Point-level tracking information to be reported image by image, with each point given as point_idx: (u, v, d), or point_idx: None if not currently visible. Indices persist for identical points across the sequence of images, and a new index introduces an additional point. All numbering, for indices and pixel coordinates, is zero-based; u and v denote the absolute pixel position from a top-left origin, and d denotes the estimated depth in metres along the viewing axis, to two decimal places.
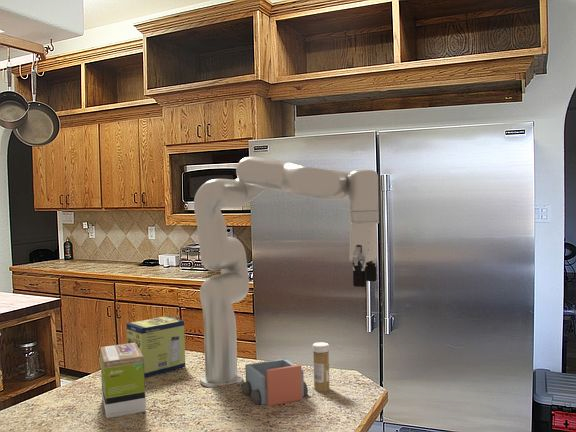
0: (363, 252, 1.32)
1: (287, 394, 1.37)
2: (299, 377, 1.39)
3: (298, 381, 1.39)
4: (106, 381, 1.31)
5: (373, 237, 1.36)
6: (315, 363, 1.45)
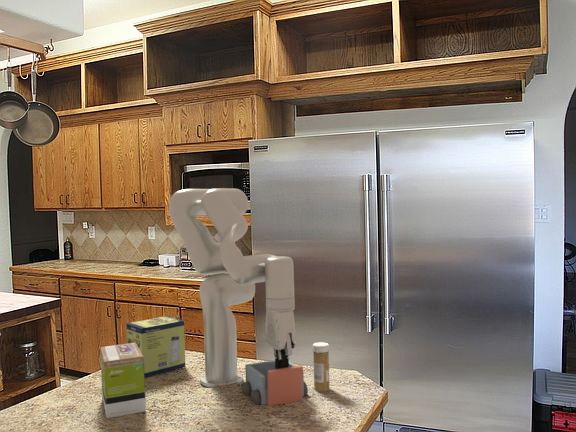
0: (293, 339, 1.35)
1: (287, 394, 1.37)
2: (300, 377, 1.38)
3: (299, 382, 1.38)
4: (106, 381, 1.31)
5: None
6: (315, 363, 1.45)
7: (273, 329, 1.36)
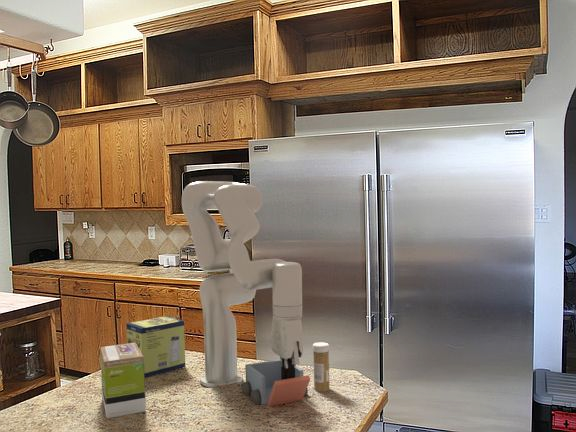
0: (300, 348, 1.31)
1: (289, 398, 1.36)
2: (305, 386, 1.36)
3: (303, 389, 1.36)
4: (106, 381, 1.31)
5: None
6: (315, 363, 1.45)
7: (279, 337, 1.32)
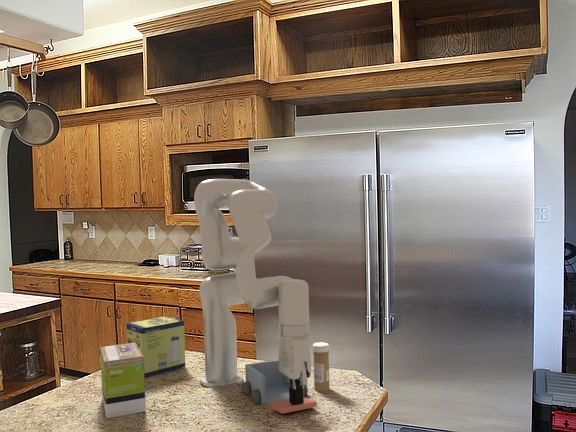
0: (308, 368, 1.27)
1: None
2: None
3: None
4: (106, 381, 1.31)
5: None
6: (315, 363, 1.45)
7: (287, 357, 1.29)
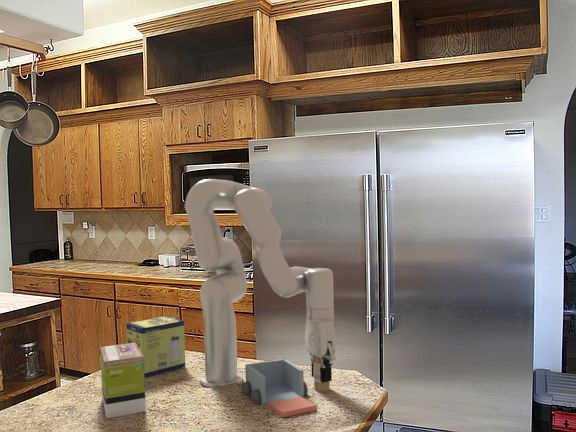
0: (333, 347, 1.42)
1: None
2: None
3: None
4: (106, 381, 1.31)
5: None
6: (315, 363, 1.45)
7: (314, 337, 1.44)
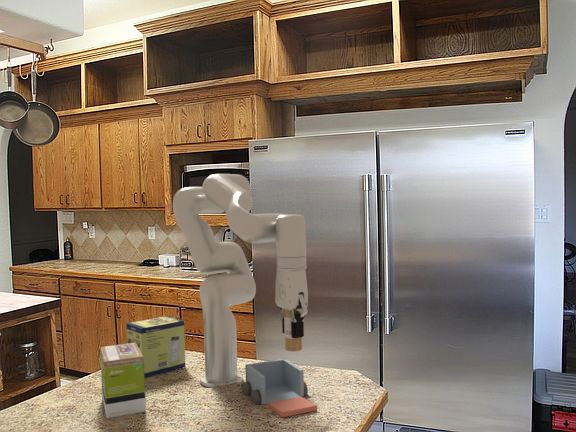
0: (305, 299, 1.30)
1: None
2: None
3: None
4: (106, 381, 1.31)
5: None
6: (286, 317, 1.33)
7: (284, 289, 1.31)
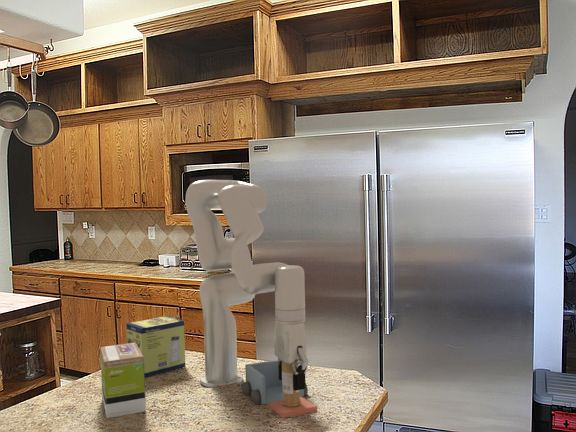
0: (304, 352, 1.29)
1: None
2: None
3: None
4: (106, 381, 1.31)
5: None
6: (283, 372, 1.33)
7: (282, 342, 1.31)
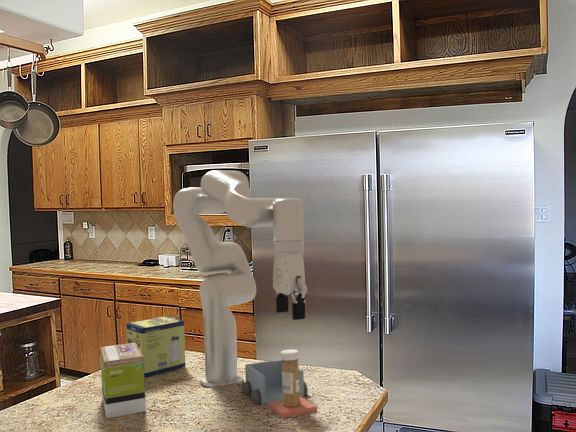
0: None
1: None
2: None
3: None
4: (106, 381, 1.31)
5: None
6: (283, 372, 1.33)
7: (281, 273, 1.30)
